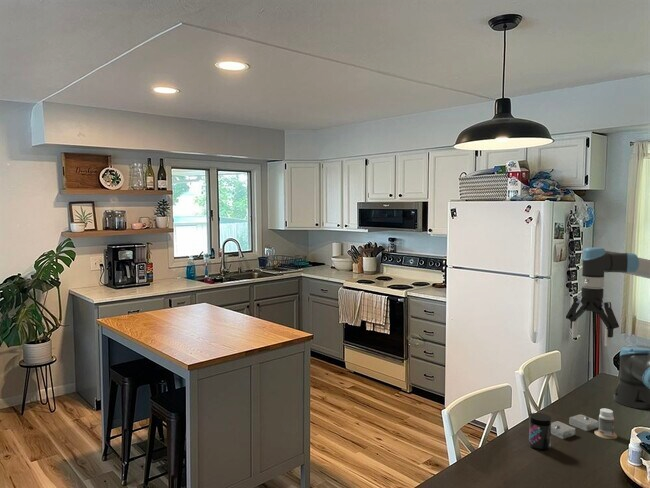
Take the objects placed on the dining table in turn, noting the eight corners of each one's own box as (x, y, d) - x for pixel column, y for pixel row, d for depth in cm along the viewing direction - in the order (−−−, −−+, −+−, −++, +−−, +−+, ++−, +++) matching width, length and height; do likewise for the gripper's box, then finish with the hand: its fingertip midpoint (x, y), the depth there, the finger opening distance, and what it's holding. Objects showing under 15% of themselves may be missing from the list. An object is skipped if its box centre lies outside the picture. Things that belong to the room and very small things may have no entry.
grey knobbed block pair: (580, 420, 188) (580, 413, 187) (598, 427, 181) (598, 420, 181) (545, 431, 178) (545, 423, 178) (562, 439, 172) (563, 431, 172)
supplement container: (528, 440, 171) (529, 411, 170) (550, 444, 168) (551, 414, 168) (528, 449, 164) (529, 419, 164) (550, 453, 162) (551, 422, 161)
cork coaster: (602, 429, 180) (602, 428, 180) (621, 436, 174) (621, 435, 174) (590, 433, 177) (590, 432, 177) (609, 441, 171) (609, 439, 171)
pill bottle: (615, 437, 173) (616, 413, 172) (601, 435, 174) (601, 412, 173) (611, 431, 177) (611, 408, 177) (596, 430, 178) (597, 407, 178)
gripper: (557, 283, 201) (555, 335, 202) (618, 292, 179) (616, 350, 180) (569, 282, 204) (567, 333, 205) (630, 291, 182) (628, 347, 184)
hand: (590, 341), depth 193 cm, fingers open, 13 cm apart
